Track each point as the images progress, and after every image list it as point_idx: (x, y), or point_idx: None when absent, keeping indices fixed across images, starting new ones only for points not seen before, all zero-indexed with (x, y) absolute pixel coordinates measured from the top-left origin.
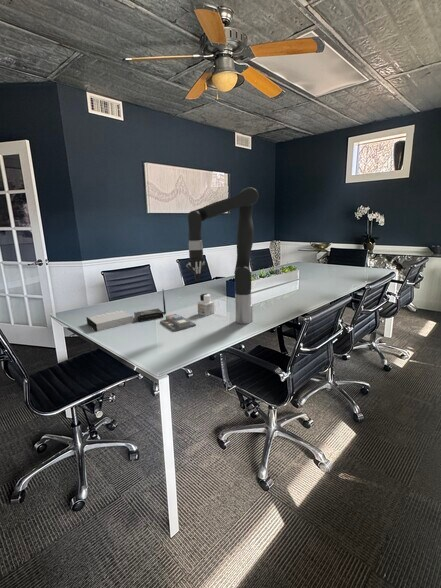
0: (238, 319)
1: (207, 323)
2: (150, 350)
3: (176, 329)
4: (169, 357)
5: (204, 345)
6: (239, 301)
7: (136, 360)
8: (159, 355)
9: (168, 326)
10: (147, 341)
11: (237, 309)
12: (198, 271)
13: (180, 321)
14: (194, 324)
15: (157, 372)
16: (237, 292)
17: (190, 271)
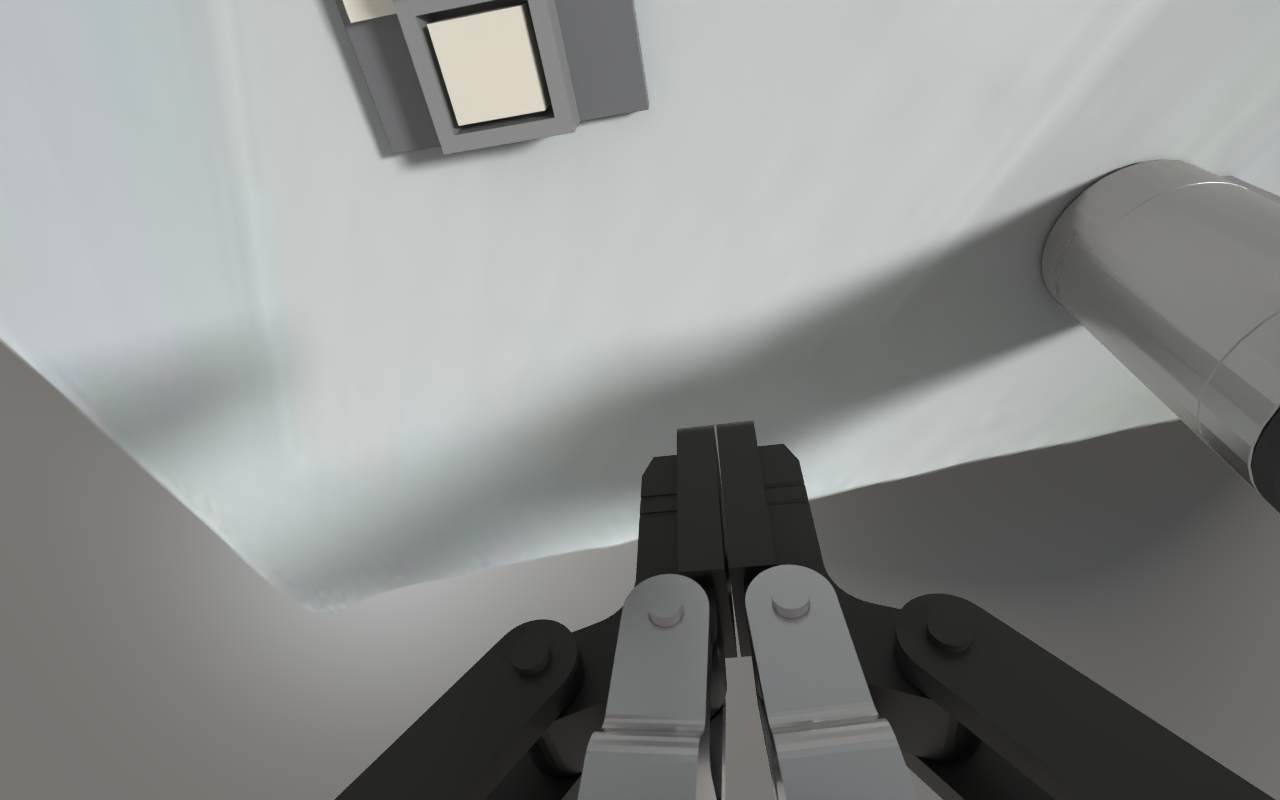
0: (1060, 285)
1: (793, 94)
2: (234, 412)
3: (426, 147)
4: (356, 526)
5: (574, 492)
6: (1187, 415)
7: (175, 485)
8: (299, 488)
9: (340, 8)
10: (178, 261)
11: (1120, 328)
12: (763, 731)
13: (470, 69)
14: (633, 111)
15: (304, 605)
16: (1275, 479)
17: (465, 674)
